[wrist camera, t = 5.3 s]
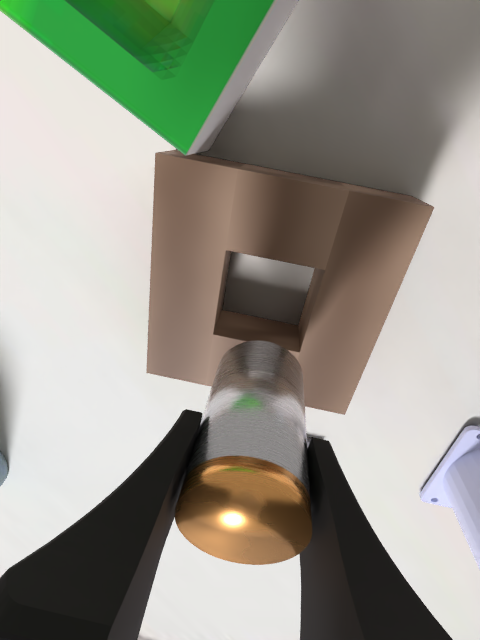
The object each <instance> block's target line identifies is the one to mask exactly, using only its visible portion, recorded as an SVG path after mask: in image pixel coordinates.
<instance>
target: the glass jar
mask: <svg viewBox="0 0 480 640" xmlns="http://www.w3.org/2000/svg"><path fill="white" fill-rule="evenodd" d="M175 521H176V524H177V526H178V528H179V530H180V532H181V533H182V534H183V536H184V537H185V538H186V539H187V540H188V541H189V542H190V543H192V544H193V545H194V546H196V547H197V548H199V549H200V550H202V551H204V552H206V553H208V554H210V555H212V556H214V557H217V558H220V559H223V560H227V561H230V562H235V563H241V564H252V565H263V564H272V563H278V562H282V561H285V560H288V559H290V558H292V557H294V556H296V555H298V554H299V553H300V552H302V551H303V550H304V549H305V548H306V547H307V545H308V544H309V542H310V540H311V537H312V517H311V501H310V484H309V468H308V452H307V435H306V419H305V403H304V386H303V372H302V368H301V366H300V364H299V362H298V360H297V359H296V358H295V356H294V355H293V354H292V353H291V352H289V351H288V350H287V349H285V348H284V347H282V346H280V345H277V344H275V343H271V342H267V341H248V342H243V343H240V344H238V345H236V346H234V347H232V348H231V349H229V350H228V351H227V352H226V353H225V354H224V355H223V357H222V358H221V360H220V362H219V365H218V368H217V372H216V375H215V378H214V381H213V385H212V388H211V391H210V395H209V398H208V401H207V405H206V408H205V411H204V415H203V418H202V421H201V425H200V429H199V432H198V435H197V439H196V442H195V445H194V448H193V451H192V455H191V458H190V461H189V465H188V468H187V471H186V475H185V478H184V481H183V485H182V488H181V491H180V494H179V498H178V501H177V504H176V508H175Z"/></svg>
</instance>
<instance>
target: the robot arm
mask: <svg viewBox="0 0 480 640" xmlns="http://www.w3.org/2000/svg"><path fill="white" fill-rule="evenodd" d="M201 419H202V413H200V412H196V411H191V410H187V409H186V410H184V411H183V412H182V413H181V415H180V417H179V418H178V420H177V421H176V423H175V424H174V426H173V427H172V428H171V430H170V431H169V432H168V434H167V435H166V436H165V437H164V439H163V440H162V441H161V442H160V443H159V445H158V446H157V447H156V448H155V449H154V451H153V452H152V453H151V454H150V455H149V456H148V457H147V458H146V459H145V461H144V462H143V463H142V464H141V465H140V466H139V467H138V468H137V469H136V470H135V471H134V472H133V473H132V474H131V475H130V476H129V477H128V478H127V479H126V480H125V481H124V482H123V483H122V484H121V485H120V486H119V487H118V488H117V489H115V490H114V491H113V492H112V493H111V494H110V495H109V496H108V497H106V498H105V499H104V500H103V501H102V502H101V503H99V504H98V505H97V506H96V507H95V508H93V509H92V510H91V511H90V512H89V513H87V514H86V515H85V516H84V517H82V518H81V519H80V520H78V521H77V522H76V523H74V524H73V525H72V526H70V527H69V528H68V529H66V530H65V531H64V532H62V533H61V534H59V535H58V536H57V537H55V538H54V539H53V540H51V541H50V542H48V543H47V544H45V545H44V546H42V547H41V548H39V549H38V550H36V551H35V552H33V553H32V554H30V555H29V556H27V557H26V558H24V559H23V560H21V561H20V562H18V563H17V564H15V565H13V566H12V567H10V568H9V569H8V570H7V571H6V572H5V573H4V574H3V575H2V577H1V578H0V640H137V638H138V635H139V631H140V628H141V624H142V620H143V617H144V613H145V610H146V606H147V602H148V599H149V595H150V592H151V588H152V585H153V581H154V578H155V574H156V570H157V567H158V563H159V560H160V556H161V553H162V550H163V547H164V544H165V541H166V538H167V536H168V533H169V530H170V528H171V525H172V522H173V520H174V517H175V508H176V504H177V501H178V498H179V494H180V491H181V488H182V485H183V481H184V478H185V475H186V471H187V468H188V465H189V461H190V458H191V455H192V451H193V448H194V445H195V442H196V439H197V435H198V432H199V429H200V425H201ZM478 434H479V435H478ZM307 452H308V468H309V484H310V501H311V517H312V537H311V540H310V542H309V544H308V545H307V547H306V548H305V549H304V550H303V551H302V552H300V566H301V629H300V640H453V639H452V638H451V637H450V636H449V635H448V633H447V632H446V631H445V630H444V629H443V627H442V626H441V625H440V624H439V622H438V621H437V620H436V619H435V618H434V616H433V615H432V614H431V613H430V611H429V610H428V609H427V607H426V606H425V605H424V603H423V602H422V601H421V599H420V598H419V597H418V595H417V594H416V593H415V591H414V590H413V589H412V587H411V586H410V585H409V583H408V582H407V581H406V579H405V578H404V577H403V575H402V574H401V572H400V571H399V569H398V568H397V566H396V565H395V564H394V562H393V561H392V559H391V558H390V556H389V554H388V553H387V551H386V550H385V548H384V547H383V545H382V544H381V542H380V540H379V539H378V537H377V535H376V534H375V532H374V530H373V529H372V527H371V525H370V524H369V522H368V520H367V518H366V516H365V515H364V513H363V511H362V509H361V507H360V506H359V504H358V502H357V500H356V498H355V496H354V494H353V492H352V490H351V488H350V486H349V484H348V482H347V480H346V478H345V476H344V473H343V471H342V469H341V467H340V465H339V463H338V460H337V458H336V456H335V453H334V451H333V449H332V446H331V444H330V442H329V441H326V440H322V439H317V438H313V437H312V438H311V441H310V443H309V446H308V448H307ZM419 495H420V498H421V500H422V501H423V502H427V503H431V504H436V505H441V506H445V507H450V508H453V511H454V513H455V515H456V517H457V520H458V522H459V524H460V526H461V529H462V531H463V533H464V535H465V538H466V540H467V542H468V544H469V547H470V549H471V551H472V553H473V556H474V558H475V560H476V563H477V565H478V567H479V569H480V427H478V426H467V427H465V428H464V429H463V431H462V432H461V434H460V435H459V437H458V438H457V440H456V441H455V443H454V444H453V446H452V447H451V448H450V450H449V451H448V453H447V454H446V456H445V457H444V459H443V460H442V462H441V463H440V465H439V466H438V467H437V469H436V470H435V472H434V473H433V475H432V476H431V478H430V479H429V481H428V482H427V483H426V485H425V486H424V488H423V489H422V491H421V492H420V494H419Z"/></svg>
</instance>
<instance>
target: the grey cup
mask: <svg viewBox="0 0 480 640" xmlns="http://www.w3.org/2000/svg"><path fill="white" fill-rule="evenodd" d="M7 474H8V466H7V462H6V460H5V458H4V456H3V455H2V453H1V451H0V486H1V485H2V484H3V482H4V481H5V479H6V478H7Z"/></svg>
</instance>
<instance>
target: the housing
mask: <svg viewBox="0 0 480 640" xmlns="http://www.w3.org/2000/svg"><path fill="white" fill-rule="evenodd" d="M433 209H434V207H433V206H431V205H429V204H427V203H425V202H423V201H421V200H419V199H417V198H415V197H413V196H409V195H404V194H399V193H394V192H389V191H383V190H378V189H373V188H368V187H363V186H358V185H353V184H347V183H342V182H337V181H332V180H327V179H322V178H317V177H311V176H306V175H301V174H296V173H291V172H286V171H281V170H275V169H270V168H265V167H260V166H255V165H250V164H245V163H239V162H234V161H229V160H224V159H219V158H214V157H209V156H203V155H198V154H190V155H184V154H183V153H181V152H180V151H178V150H172V151H165V152H158V153H156V154H155V179H154V203H153V227H152V252H151V276H150V301H149V325H148V350H147V373H150V374H155V375H160V376H164V377H169V378H174V379H179V380H183V381H188V382H193V383H197V384H202V385H207V386H212V385H213V381H214V378H215V375H216V372H217V368H218V365H219V362H220V360H221V358H222V357H223V355H224V354H225V353H226V352H227V351H228V350H229V349H231V348H232V347H234V346H236V345H238V344H240V343H243V342H248V341H267V342H271V343H275V344H277V345H280V346H282V347H284V348H285V349H287V350H288V351H289V352H291V353H292V354H293V355H294V356H295V358H296V359H297V360H298V362H299V364H300V366H301V368H302V372H303V386H304V403H305V406H306V407H311V408H316V409H321V410H325V411H330V412H335V413H340V414H344V415H345V413H346V410H347V408H348V406H349V403H350V401H351V399H352V396H353V394H354V392H355V390H356V387H357V385H358V383H359V380H360V378H361V376H362V373H363V371H364V369H365V366H366V364H367V362H368V359H369V357H370V355H371V353H372V350H373V348H374V346H375V343H376V341H377V339H378V336H379V334H380V332H381V329H382V327H383V325H384V322H385V320H386V318H387V316H388V313H389V311H390V309H391V306H392V304H393V302H394V299H395V297H396V295H397V292H398V290H399V288H400V285H401V283H402V281H403V278H404V276H405V274H406V272H407V269H408V267H409V265H410V262H411V260H412V258H413V255H414V253H415V251H416V248H417V246H418V244H419V241H420V239H421V237H422V235H423V232H424V230H425V228H426V225H427V223H428V221H429V218H430V216H431V214H432V211H433ZM231 251H233V252H238V253H243V254H248V255H253V256H258V257H263V258H268V259H273V260H278V261H283V262H288V263H293V264H298V265H303V266H308V267H313V268H315V269H314V273H313V276H312V280H311V283H310V287H309V290H308V294H307V297H306V300H305V304H304V307H303V311H302V314H301V318H300V321H299V324H298V325H293V324H288V323H284V322H279V321H274V320H269V319H264V318H259V317H254V316H250V315H245V314H240V313H235V312H230V311H225V310H222V307H223V301H224V295H225V289H226V282H227V276H228V270H229V264H230V257H231Z"/></svg>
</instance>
